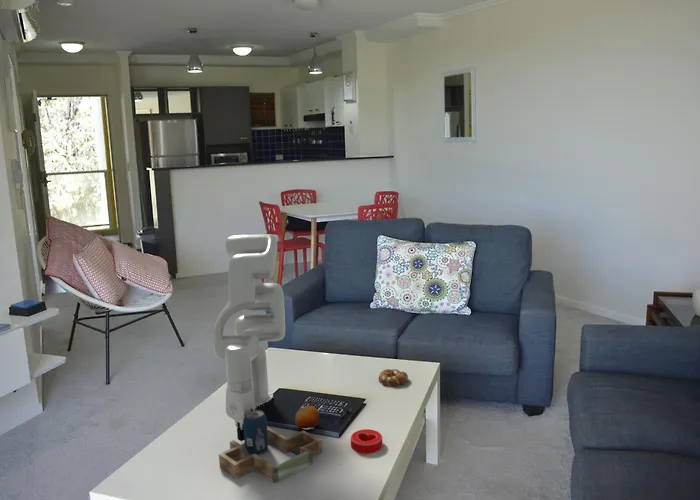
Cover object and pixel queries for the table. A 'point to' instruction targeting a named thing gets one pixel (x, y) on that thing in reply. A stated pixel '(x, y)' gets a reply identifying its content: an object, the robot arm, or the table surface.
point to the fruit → (307, 417)
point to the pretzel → (393, 377)
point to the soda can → (255, 432)
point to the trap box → (298, 444)
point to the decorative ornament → (366, 441)
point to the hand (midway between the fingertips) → (243, 438)
